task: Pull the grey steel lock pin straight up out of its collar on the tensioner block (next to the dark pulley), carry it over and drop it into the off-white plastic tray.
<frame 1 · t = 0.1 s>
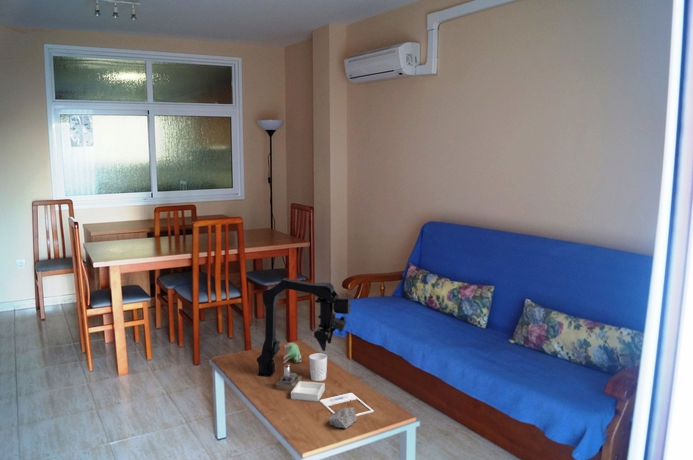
hand: (326, 347, 245), 15 cm above the table, tool pointing down, fingers open, 9 cm apart
photo frame: (346, 407, 221), on the table
lock pin: (287, 382, 238), point 2 cm above the table, touching tensioner block
tray: (308, 394, 232), on the table
tensioner block: (289, 385, 241), on the table
white cup: (318, 378, 248), on the table
stone: (343, 424, 207), on the table
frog: (292, 362, 267), on the table
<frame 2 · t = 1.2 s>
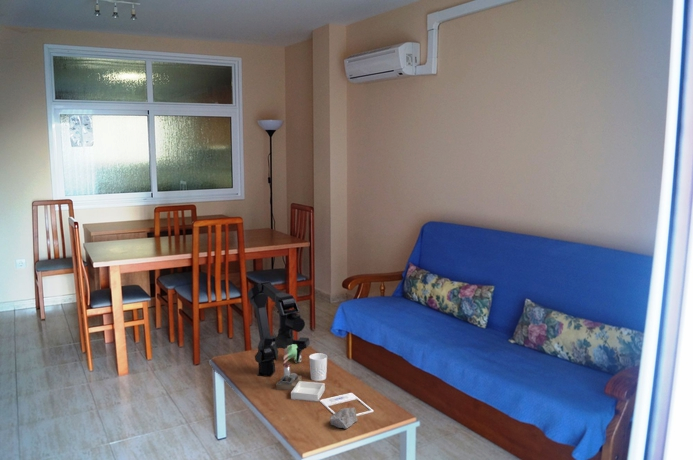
hand: (286, 361, 237), 12 cm above the table, tool pointing down, fingers open, 9 cm apart
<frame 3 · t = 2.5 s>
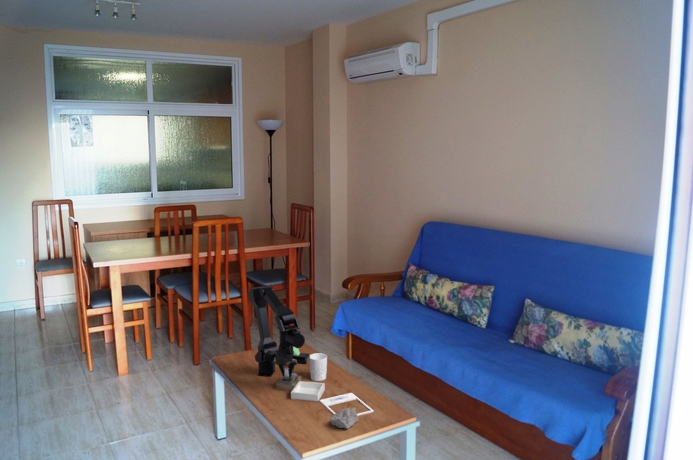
hand: (287, 376, 238), 5 cm above the table, tool pointing down, fingers closed on lock pin, 2 cm apart
lock pin: (287, 382, 238), point 2 cm above the table, touching gripper, tensioner block
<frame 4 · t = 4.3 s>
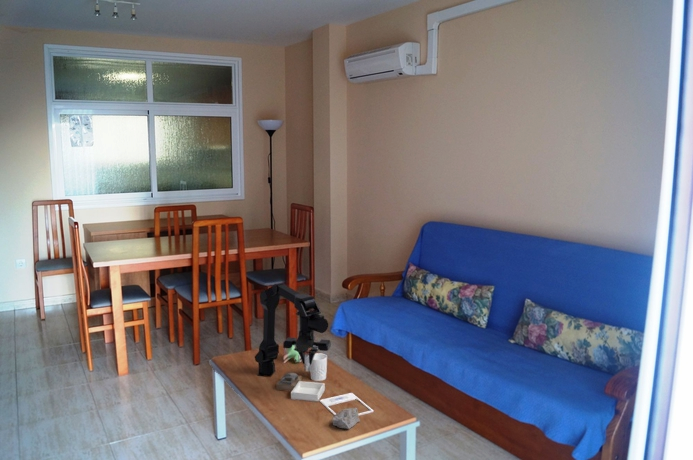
hand: (307, 364, 230), 13 cm above the table, tool pointing down, fingers closed on lock pin, 2 cm apart
lock pin: (307, 369, 230), point 11 cm above the table, touching gripper
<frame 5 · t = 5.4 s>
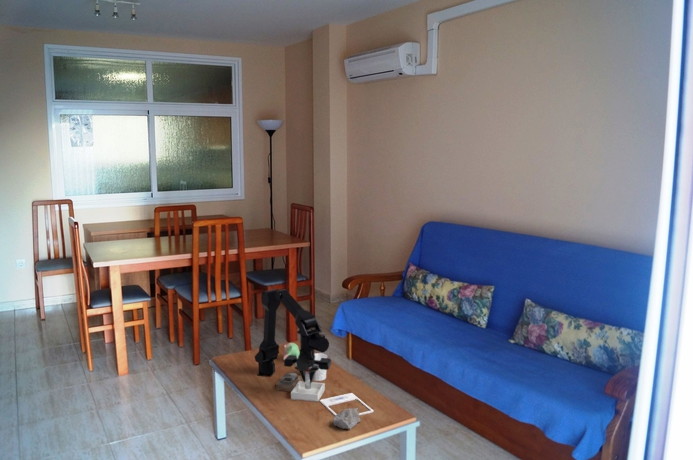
hand: (307, 382, 231), 5 cm above the table, tool pointing down, fingers closed on lock pin, 2 cm apart
lock pin: (308, 387, 231), point 3 cm above the table, touching gripper
when the fingers open (4 cm above the table, at t = 6.2 s): lock pin drops 1 cm, resting on tray.
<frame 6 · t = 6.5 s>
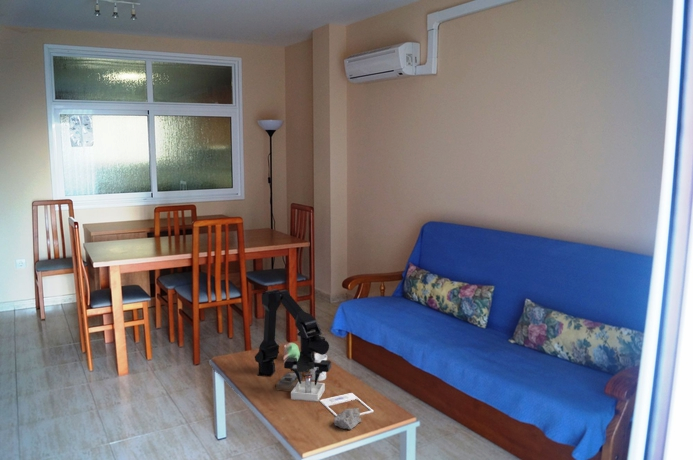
hand: (308, 384, 231), 4 cm above the table, tool pointing down, fingers open, 6 cm apart
lock pin: (308, 393, 232), point 1 cm above the table, touching tray
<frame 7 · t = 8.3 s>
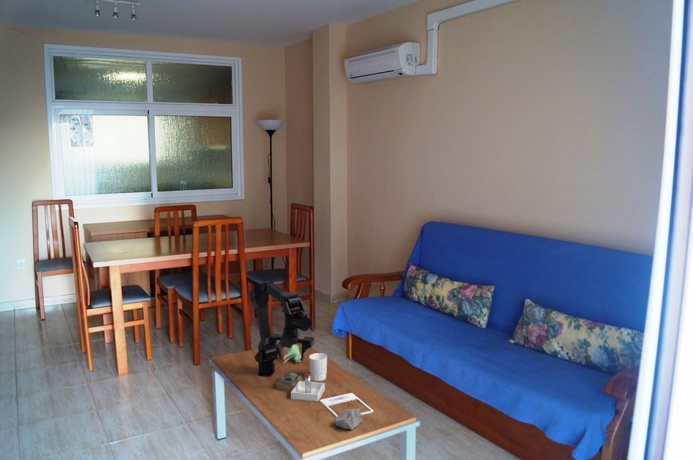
hand: (291, 359, 236), 12 cm above the table, tool pointing down, fingers open, 9 cm apart
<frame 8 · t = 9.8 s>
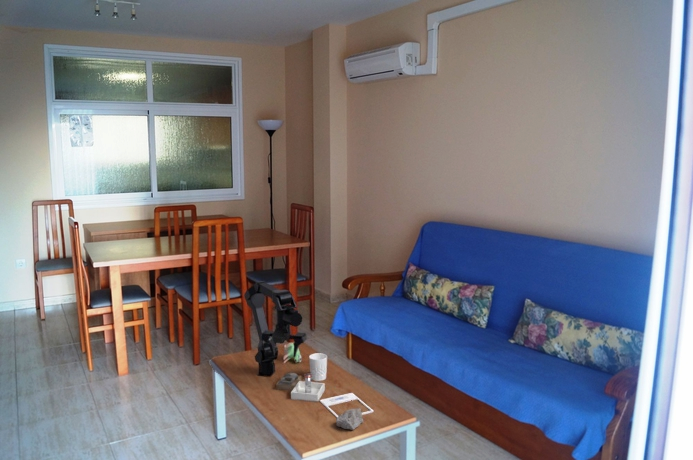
hand: (284, 356, 239), 13 cm above the table, tool pointing down, fingers open, 9 cm apart
at the end: lock pin inside the target area on the tray (0.0 cm from its centre), point 0.5 cm above the tray's base; the gripper is holding nothing; lock pin moved 11.6 cm from its start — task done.
